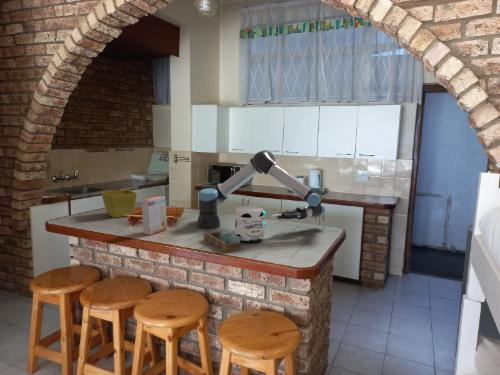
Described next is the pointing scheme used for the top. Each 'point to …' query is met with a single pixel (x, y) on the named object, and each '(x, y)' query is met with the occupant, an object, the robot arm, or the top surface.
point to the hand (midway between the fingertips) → (272, 217)
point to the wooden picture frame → (220, 242)
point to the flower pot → (119, 202)
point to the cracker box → (154, 215)
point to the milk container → (249, 223)
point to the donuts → (263, 216)
